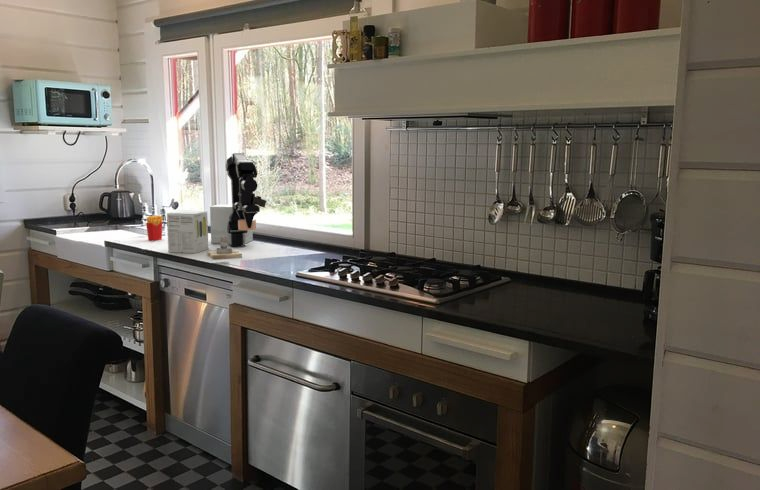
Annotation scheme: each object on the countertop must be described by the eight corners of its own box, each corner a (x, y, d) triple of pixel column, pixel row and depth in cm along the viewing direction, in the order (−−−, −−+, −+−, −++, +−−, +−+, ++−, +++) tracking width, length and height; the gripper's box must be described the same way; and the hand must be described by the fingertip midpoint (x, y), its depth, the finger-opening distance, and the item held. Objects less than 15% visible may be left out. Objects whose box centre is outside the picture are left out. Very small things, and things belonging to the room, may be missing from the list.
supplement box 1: (195, 253, 279) (193, 213, 276) (167, 252, 281) (166, 212, 279) (209, 248, 292) (208, 210, 289) (182, 247, 294) (181, 209, 292)
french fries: (150, 241, 313) (149, 216, 312) (145, 240, 316) (144, 216, 314) (165, 239, 320) (164, 215, 318) (160, 238, 322) (159, 214, 321)
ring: (236, 228, 277) (236, 219, 277) (252, 227, 280) (252, 218, 280) (241, 230, 271) (241, 221, 270) (257, 229, 274) (257, 220, 274)
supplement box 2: (253, 240, 319) (252, 204, 316) (245, 244, 306) (244, 206, 303) (219, 239, 321) (218, 203, 318) (210, 243, 307) (209, 206, 305)
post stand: (207, 254, 276) (206, 235, 274) (234, 252, 281) (234, 233, 280) (213, 259, 265) (212, 239, 264) (241, 257, 270) (241, 237, 269)
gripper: (271, 191, 269) (271, 228, 271) (257, 189, 285) (258, 223, 287) (245, 192, 264) (246, 229, 266) (233, 189, 280) (234, 225, 282)
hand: (247, 227), depth 276 cm, fingers closed on ring, 7 cm apart
